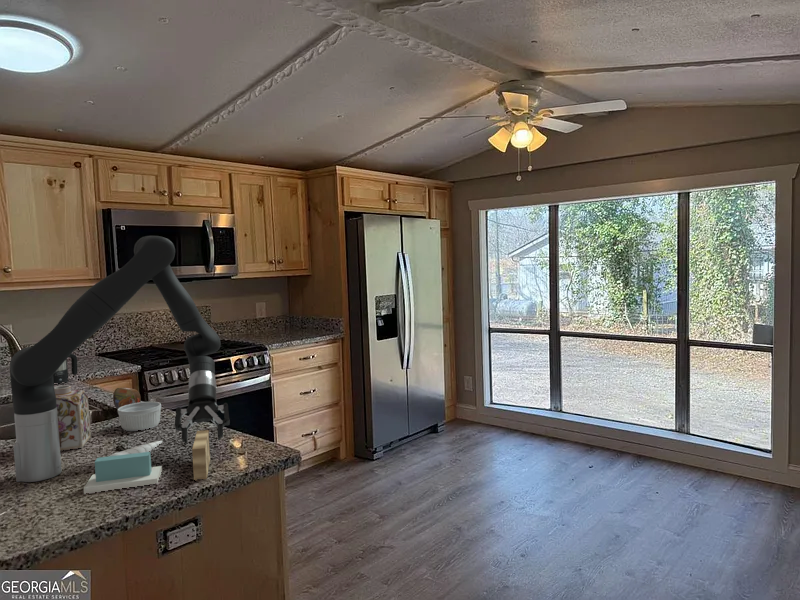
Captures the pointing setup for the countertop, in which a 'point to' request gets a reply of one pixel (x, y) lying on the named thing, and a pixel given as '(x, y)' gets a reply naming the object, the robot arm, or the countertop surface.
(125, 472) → the ridge stand
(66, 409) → the decorative jar
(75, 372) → the milk frother
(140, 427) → the ramekin
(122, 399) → the tin
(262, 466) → the countertop surface
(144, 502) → the countertop surface
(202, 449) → the wooden beam
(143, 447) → the unicorn horn
